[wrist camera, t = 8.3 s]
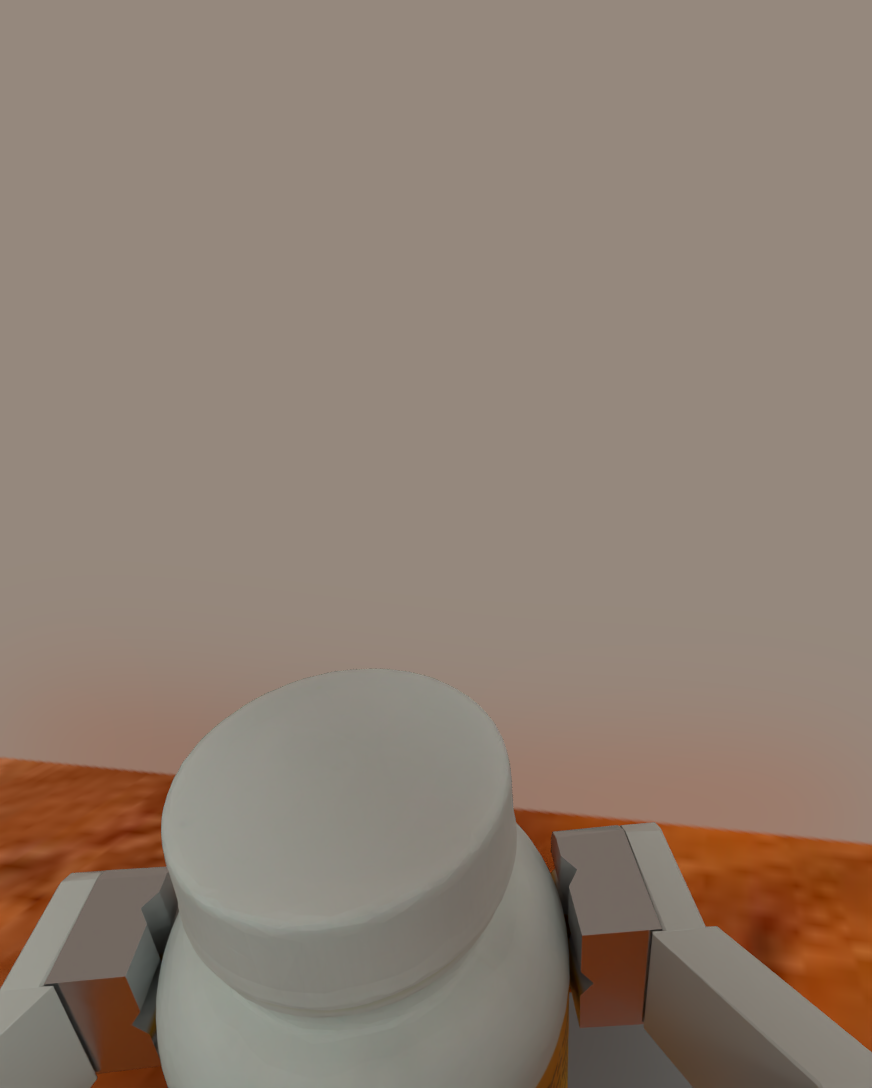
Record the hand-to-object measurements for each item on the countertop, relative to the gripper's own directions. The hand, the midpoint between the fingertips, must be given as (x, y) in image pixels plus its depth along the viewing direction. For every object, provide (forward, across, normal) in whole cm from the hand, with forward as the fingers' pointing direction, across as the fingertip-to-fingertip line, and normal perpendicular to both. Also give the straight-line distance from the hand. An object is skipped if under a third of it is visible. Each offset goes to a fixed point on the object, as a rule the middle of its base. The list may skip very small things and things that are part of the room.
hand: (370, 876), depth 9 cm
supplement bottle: (-1, 0, +7) cm, 7 cm away
